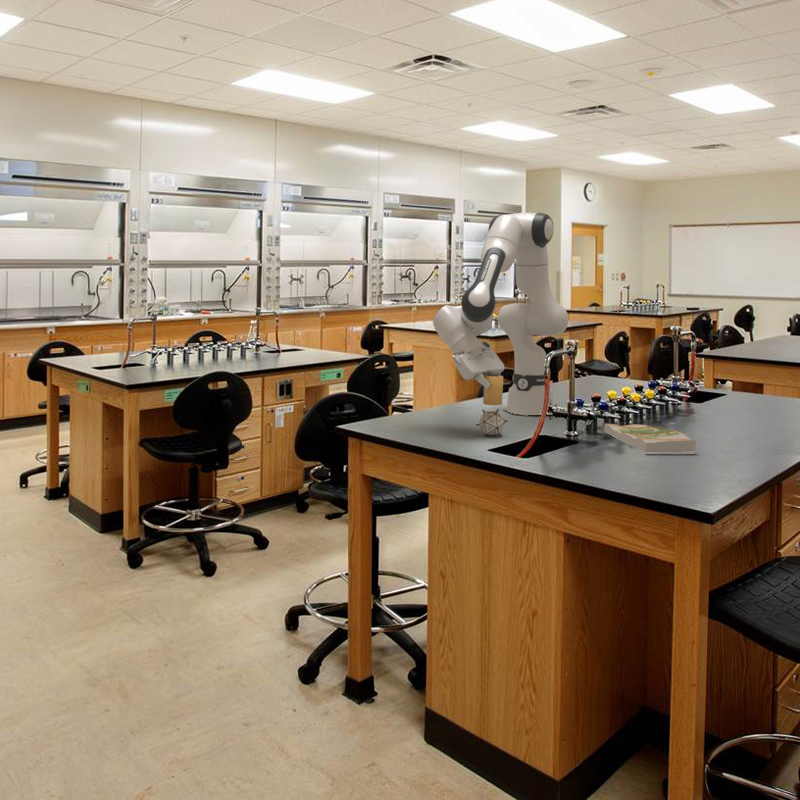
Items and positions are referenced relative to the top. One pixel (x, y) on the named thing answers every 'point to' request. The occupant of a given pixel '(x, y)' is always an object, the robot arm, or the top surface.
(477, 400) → the top surface
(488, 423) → the game die
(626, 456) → the top surface
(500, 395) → the bottle
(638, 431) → the topographic model
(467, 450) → the top surface
